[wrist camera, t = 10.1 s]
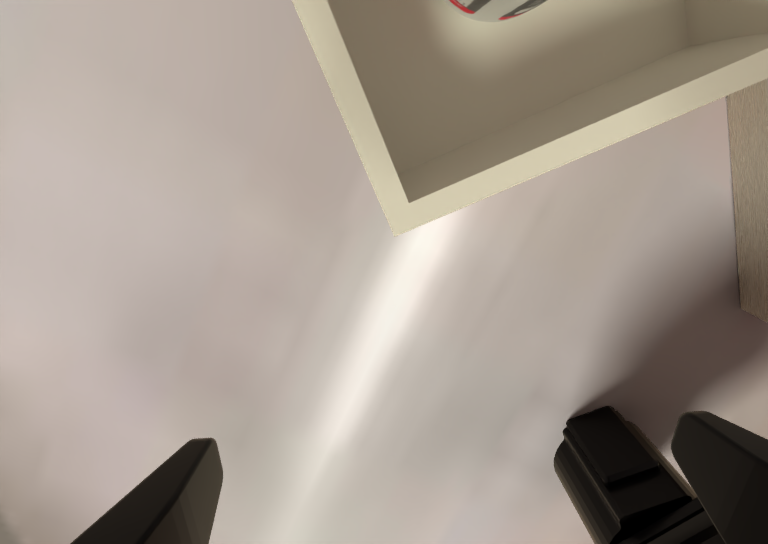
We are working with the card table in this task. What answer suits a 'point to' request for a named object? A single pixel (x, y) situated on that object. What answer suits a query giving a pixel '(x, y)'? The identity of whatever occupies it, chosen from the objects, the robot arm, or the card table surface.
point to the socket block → (751, 192)
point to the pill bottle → (492, 8)
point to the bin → (517, 85)
